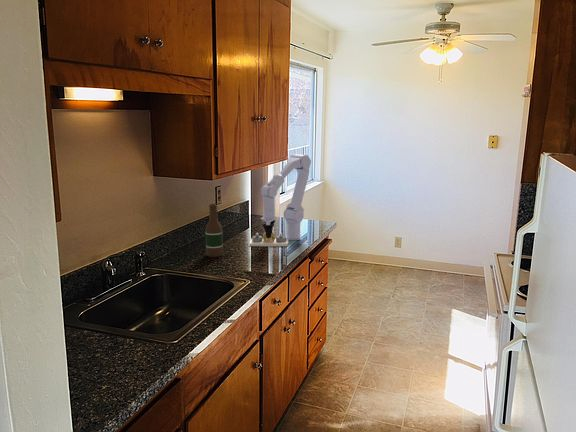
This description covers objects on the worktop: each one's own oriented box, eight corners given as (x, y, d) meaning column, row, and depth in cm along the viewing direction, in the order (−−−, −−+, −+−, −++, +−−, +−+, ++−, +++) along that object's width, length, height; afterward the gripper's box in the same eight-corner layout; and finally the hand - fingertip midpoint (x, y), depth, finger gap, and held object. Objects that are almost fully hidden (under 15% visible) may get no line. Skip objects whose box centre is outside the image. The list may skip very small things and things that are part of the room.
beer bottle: (226, 254, 225) (225, 204, 220) (213, 258, 219) (211, 206, 214) (215, 251, 230) (214, 202, 225) (202, 255, 224) (200, 204, 219)
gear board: (251, 241, 248) (251, 231, 247) (288, 241, 248) (288, 231, 247) (249, 246, 240) (249, 235, 239) (287, 246, 239) (287, 235, 238)
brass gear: (274, 239, 246) (274, 231, 245) (274, 242, 241) (274, 234, 240) (263, 239, 246) (263, 231, 246) (263, 242, 241) (263, 234, 240)
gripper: (262, 206, 247) (262, 232, 250) (259, 212, 233) (260, 239, 236) (275, 206, 247) (276, 232, 250) (274, 212, 233) (274, 239, 236)
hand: (269, 235), depth 243 cm, fingers open, 7 cm apart
